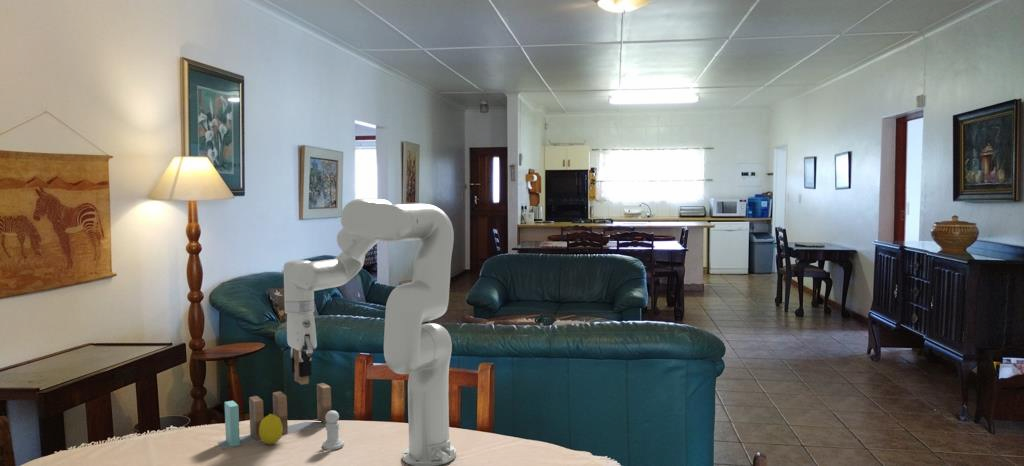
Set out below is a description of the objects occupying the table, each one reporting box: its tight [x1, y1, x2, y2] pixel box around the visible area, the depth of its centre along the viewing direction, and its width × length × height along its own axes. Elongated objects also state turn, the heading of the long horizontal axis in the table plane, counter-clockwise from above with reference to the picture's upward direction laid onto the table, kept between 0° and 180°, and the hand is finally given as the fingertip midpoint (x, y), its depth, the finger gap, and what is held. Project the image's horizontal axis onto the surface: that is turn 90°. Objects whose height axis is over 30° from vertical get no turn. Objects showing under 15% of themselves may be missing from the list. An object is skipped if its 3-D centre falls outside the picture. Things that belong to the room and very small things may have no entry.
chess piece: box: [322, 409, 345, 451], centre depth 159 cm, size 5×5×9 cm
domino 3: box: [294, 347, 310, 386], centre depth 172 cm, size 5×2×10 cm, turn 38°
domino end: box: [224, 400, 241, 448], centre depth 161 cm, size 5×2×10 cm, turn 38°
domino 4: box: [316, 382, 332, 424], centre depth 176 cm, size 5×2×10 cm, turn 38°
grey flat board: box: [216, 418, 326, 450], centre depth 168 cm, size 6×28×1 cm, turn 128°
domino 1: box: [248, 395, 265, 442], centre depth 165 cm, size 5×2×10 cm, turn 38°
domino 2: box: [272, 390, 289, 436], centre depth 169 cm, size 5×2×10 cm, turn 38°
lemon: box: [259, 413, 283, 446], centre depth 160 cm, size 6×6×8 cm
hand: (301, 373), depth 172 cm, fingers closed on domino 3, 4 cm apart
